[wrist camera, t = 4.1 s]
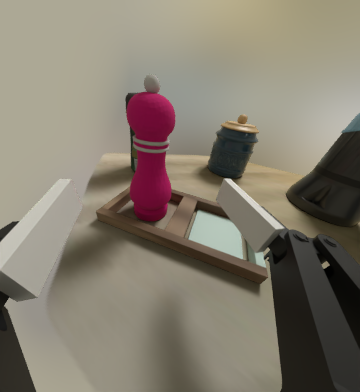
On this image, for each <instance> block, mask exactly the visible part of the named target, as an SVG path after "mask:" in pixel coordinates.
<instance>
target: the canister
mask: <svg viewBox="0 0 360 392" xmlns="http://www.w3.org/2000/svg"><path fill="white" fill-rule="evenodd" d="M246 122H247V116H246V115H240V116H239V118H238V122H234V121H227V122H225V123H223V124H221V126H222V128H221V129H220V130H219V131H217V132H216V134H217V138H216V140H215V142H214V143H213V148H212V152H211V155H210V159H209V161H208V168H209V170H210V171H212V172H213V173H215V174H217V175H220V176H223V177H228V178H238V177H241V176H242V174H243V173H244V171H245V168H246V165H247V163H248V161H249V159H250V157H251V154H252V153H253V147H254V144H256V143H257V142H258V139H257V138H256V133H259V131H258V130H257V129H256V126H254V125H250V124H245V123H246Z"/></svg>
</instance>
